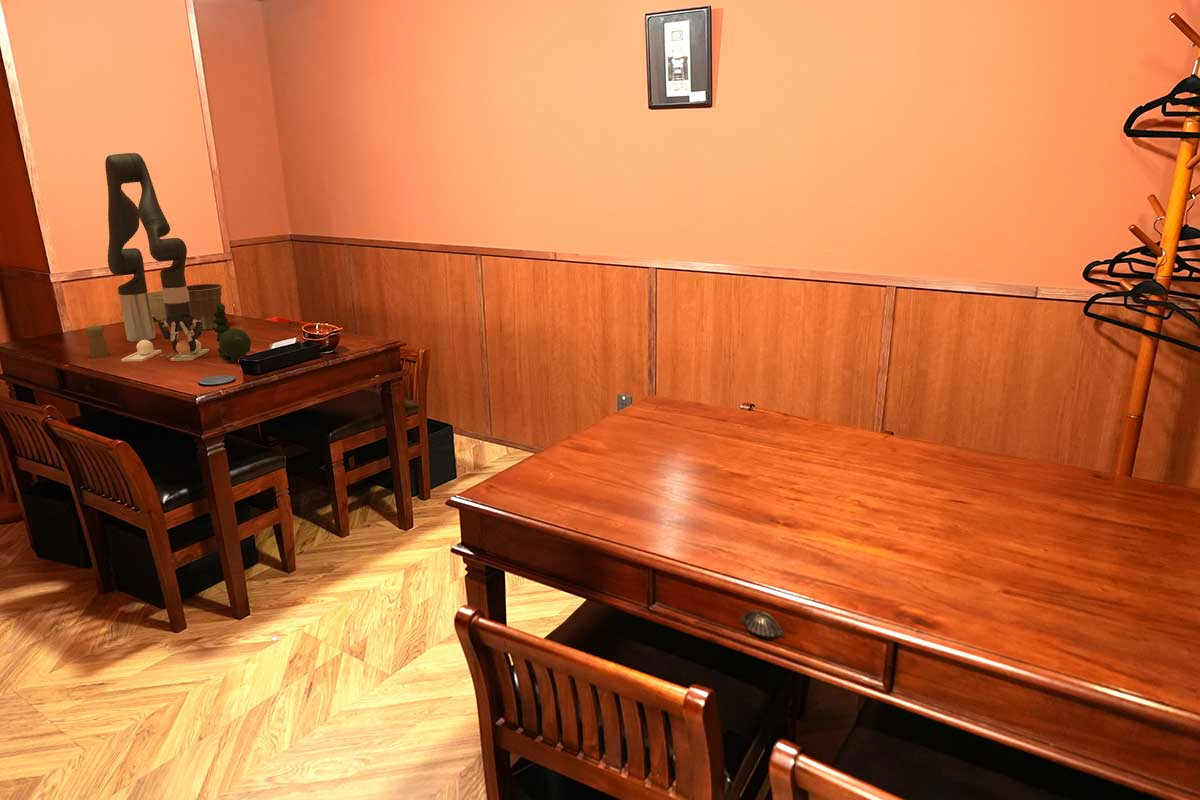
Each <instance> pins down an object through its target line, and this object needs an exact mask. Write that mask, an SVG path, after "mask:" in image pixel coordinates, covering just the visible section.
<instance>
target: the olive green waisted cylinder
mask: <svg viewBox="0 0 1200 800" xmlns="http://www.w3.org/2000/svg"><path fill="white" fill-rule="evenodd" d="M104 332H105V329H104V327H103V326H102V325H100V324H94V325H93V324H92V325H88V326H87V327H86V328H85V334H86V335H87V336H88V351H89V353H88V354H89V358H90V359H101V358H102V359H103V358H108V357H109V356H110V355H111V354H110V352H109V349H108V345H107V342H106V340H105V337H104Z"/></svg>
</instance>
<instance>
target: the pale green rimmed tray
mask: <svg viewBox="0 0 1200 800" xmlns="http://www.w3.org/2000/svg"><path fill="white" fill-rule="evenodd" d="M208 352H210V349H209V348H203V349H202V348H201V349H200V351H199V352H198V353H195V354H191V353H190V354H188V355H182V354H180V353H178V354H175V355H173V356H171V357H169V358H170V361H171V362H173V361H174V362H175V361H179V362H181V361H193V360H195V359H197V358H198V357H201V356H202V355H204V354H207V353H208Z"/></svg>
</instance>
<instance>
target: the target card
mask: <svg viewBox="0 0 1200 800" xmlns="http://www.w3.org/2000/svg"><path fill="white" fill-rule="evenodd" d="M174 356H175V354H174V353H171V354H169V355H167V356H166V358H172V357H174ZM161 357H164V355H163V354H160V355H159V358H161Z"/></svg>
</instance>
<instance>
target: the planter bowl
mask: <svg viewBox="0 0 1200 800" xmlns="http://www.w3.org/2000/svg"><path fill="white" fill-rule="evenodd" d="M148 298H149V303H150V309H151V312H152V316H153V317H154V318H155V320H156V321H158V322H161V321H166V319H167V315H166V311H165V305H164V301H163V290H157V291H150V292H148Z"/></svg>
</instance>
